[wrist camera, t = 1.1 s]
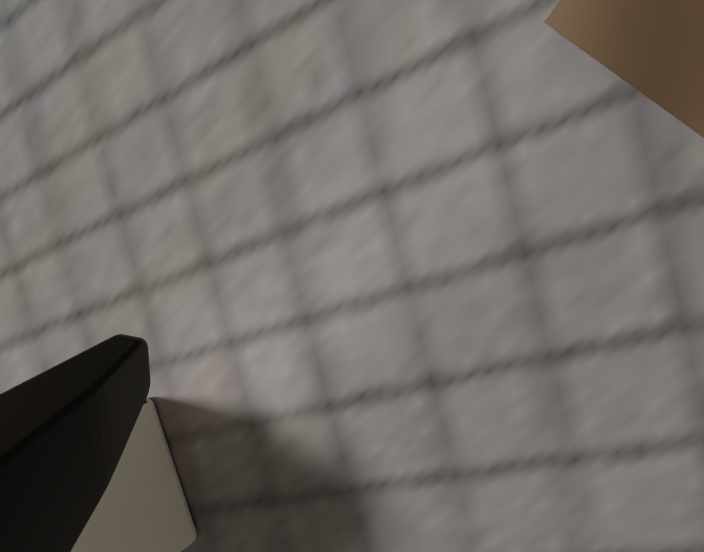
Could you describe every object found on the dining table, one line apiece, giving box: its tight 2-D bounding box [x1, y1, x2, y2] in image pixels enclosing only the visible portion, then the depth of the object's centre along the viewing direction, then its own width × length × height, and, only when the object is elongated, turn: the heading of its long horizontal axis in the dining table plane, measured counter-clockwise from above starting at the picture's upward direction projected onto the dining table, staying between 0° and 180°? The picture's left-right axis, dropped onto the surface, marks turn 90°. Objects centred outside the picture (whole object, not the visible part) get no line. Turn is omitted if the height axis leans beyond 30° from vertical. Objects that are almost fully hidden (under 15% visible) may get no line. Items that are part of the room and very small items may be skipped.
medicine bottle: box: [71, 398, 197, 552], centre depth 27 cm, size 7×7×12 cm
